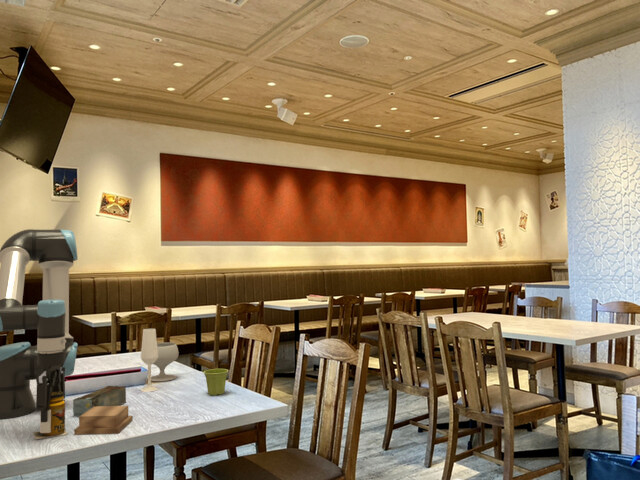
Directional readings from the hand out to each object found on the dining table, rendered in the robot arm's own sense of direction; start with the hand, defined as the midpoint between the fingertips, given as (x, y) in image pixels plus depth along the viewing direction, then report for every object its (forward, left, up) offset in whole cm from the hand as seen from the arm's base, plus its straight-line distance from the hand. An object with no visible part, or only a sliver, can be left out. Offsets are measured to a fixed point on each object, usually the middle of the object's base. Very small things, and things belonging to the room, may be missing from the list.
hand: (51, 428), depth 159 cm
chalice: (+14, +72, -2) cm, 73 cm away
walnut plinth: (+14, +5, -1) cm, 15 cm away
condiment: (0, 0, -2) cm, 2 cm away
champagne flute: (+14, +53, -2) cm, 55 cm away
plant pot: (+42, +44, -2) cm, 61 cm away
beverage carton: (+5, +26, -2) cm, 26 cm away
